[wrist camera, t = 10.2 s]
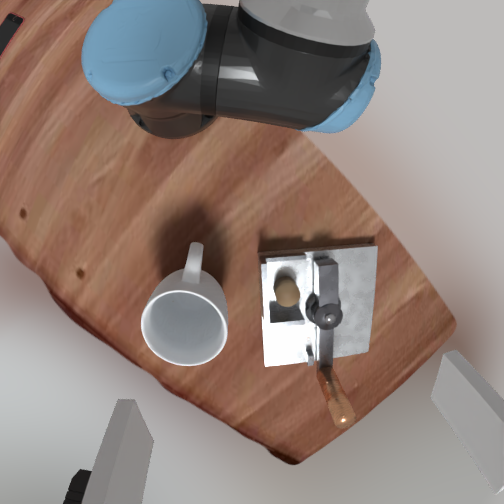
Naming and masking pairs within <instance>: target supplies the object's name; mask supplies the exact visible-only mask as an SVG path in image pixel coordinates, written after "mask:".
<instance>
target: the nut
mask: <svg viewBox="0 0 504 504" xmlns="http://www.w3.org/2000/svg"><path fill="white" fill-rule="evenodd" d="M273 291H274V294H275V297H276V300H277V302H278V303H279V304H280V305H282V306H284V307H290V306H293V305H295V304H296V303H297V302H298V301H299V299H300V290H299V288H298V286H297V285H296V283H295V281H294V280H293V279H292V278H291V277H288V276H283V277H280V278H278V279H277V280H276V281H275V283H274V285H273Z"/></svg>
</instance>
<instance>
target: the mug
mask: <svg viewBox="0 0 504 504" xmlns="http://www.w3.org/2000/svg"><path fill="white" fill-rule="evenodd" d="M202 255H203V244H201V243H198V242H192V243H191V244H190V249H189V253H188V257H187V261H186V265H185V268H184V269H181V270H177V271H175V272H173V273H172V274H169V275H168V276H167V277H165V279H163V280H162V281H161V283H159V285H158V286H157V287H156V288H155V290H154V291H153V293H152V295H151V296H150V299H149V300H148V302H147V305H146V307H145V309H144V311H143V314H142V318H141V330H142V334H143V337H144V339H145V341H146V343H147V345H148V346H149V347H150V349H151V350H152V351H153V352H154V353H155V354H156V355H158V356H159V357H161V358H162V359H164V360H166V361H168V362H170V363H173V364H177V365H183V366H193V365H199V364H203V363H206V362H208V361H210V360H211V359H213V358H214V357H216V356H217V355H218V354H219V353H220V351H221V350H222V349H223V347H224V345H225V343H226V340H227V334H228V311H227V302H226V298H225V295H224V292H223V291H222V288H221V286H220V285H219V283H218V282H217V281H216V280H215V279H214V278H213V277H212V276H211V275H210V274H208V273H207V272H205V271H202V270H201V266H202Z"/></svg>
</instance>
